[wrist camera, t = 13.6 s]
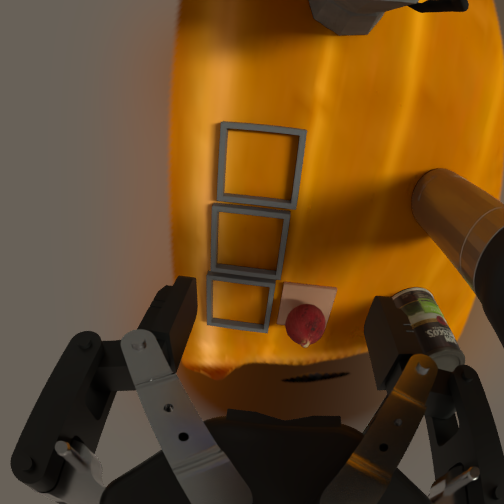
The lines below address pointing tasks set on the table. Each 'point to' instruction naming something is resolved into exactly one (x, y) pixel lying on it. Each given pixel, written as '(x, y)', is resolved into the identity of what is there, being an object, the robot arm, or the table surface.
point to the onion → (305, 324)
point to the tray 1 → (254, 199)
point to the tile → (305, 299)
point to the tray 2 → (248, 211)
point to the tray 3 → (241, 280)
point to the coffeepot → (371, 12)
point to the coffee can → (430, 327)
